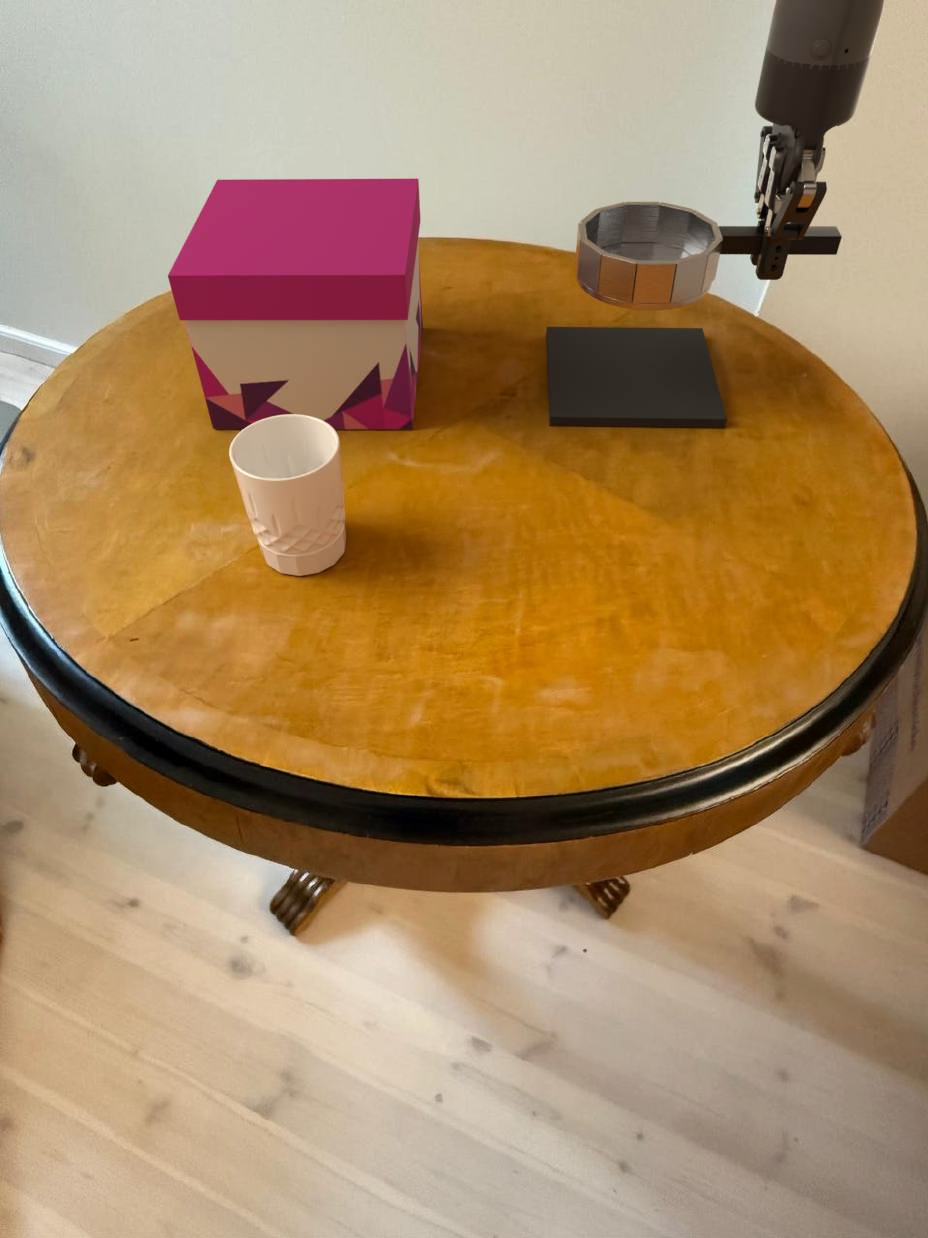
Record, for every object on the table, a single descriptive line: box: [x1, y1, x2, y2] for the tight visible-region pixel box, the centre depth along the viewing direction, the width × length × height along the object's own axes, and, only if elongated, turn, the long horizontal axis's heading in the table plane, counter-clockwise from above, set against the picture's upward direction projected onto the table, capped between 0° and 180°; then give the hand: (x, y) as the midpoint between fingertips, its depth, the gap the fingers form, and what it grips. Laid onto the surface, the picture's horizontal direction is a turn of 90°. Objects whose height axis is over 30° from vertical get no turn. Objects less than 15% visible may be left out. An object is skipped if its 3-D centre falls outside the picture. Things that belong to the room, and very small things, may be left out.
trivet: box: [545, 326, 728, 429], centre depth 87 cm, size 16×16×1 cm
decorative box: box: [167, 178, 424, 430], centre depth 83 cm, size 19×19×15 cm
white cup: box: [228, 414, 347, 577], centre depth 68 cm, size 8×8×10 cm
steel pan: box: [574, 201, 843, 311], centre depth 78 cm, size 22×12×4 cm, turn 88°
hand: (765, 269), depth 79 cm, fingers closed on steel pan, 2 cm apart
